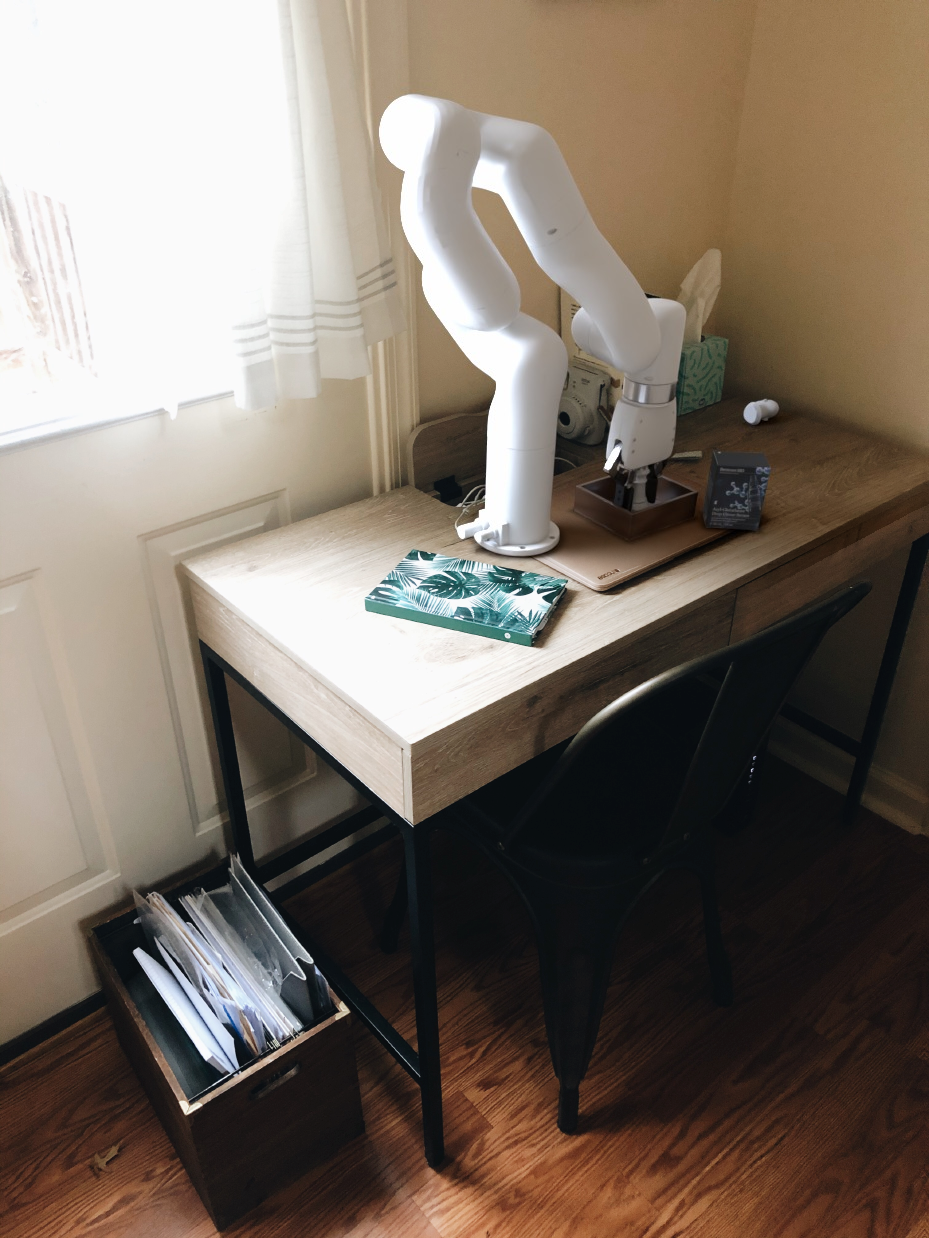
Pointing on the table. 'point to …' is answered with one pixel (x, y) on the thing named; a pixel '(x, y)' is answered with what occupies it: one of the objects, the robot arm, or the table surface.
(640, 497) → the rook chess piece
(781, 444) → the table surface
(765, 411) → the smooth white sculpture
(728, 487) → the box
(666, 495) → the tray
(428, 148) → the robot arm
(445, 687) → the table surface
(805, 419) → the table surface
